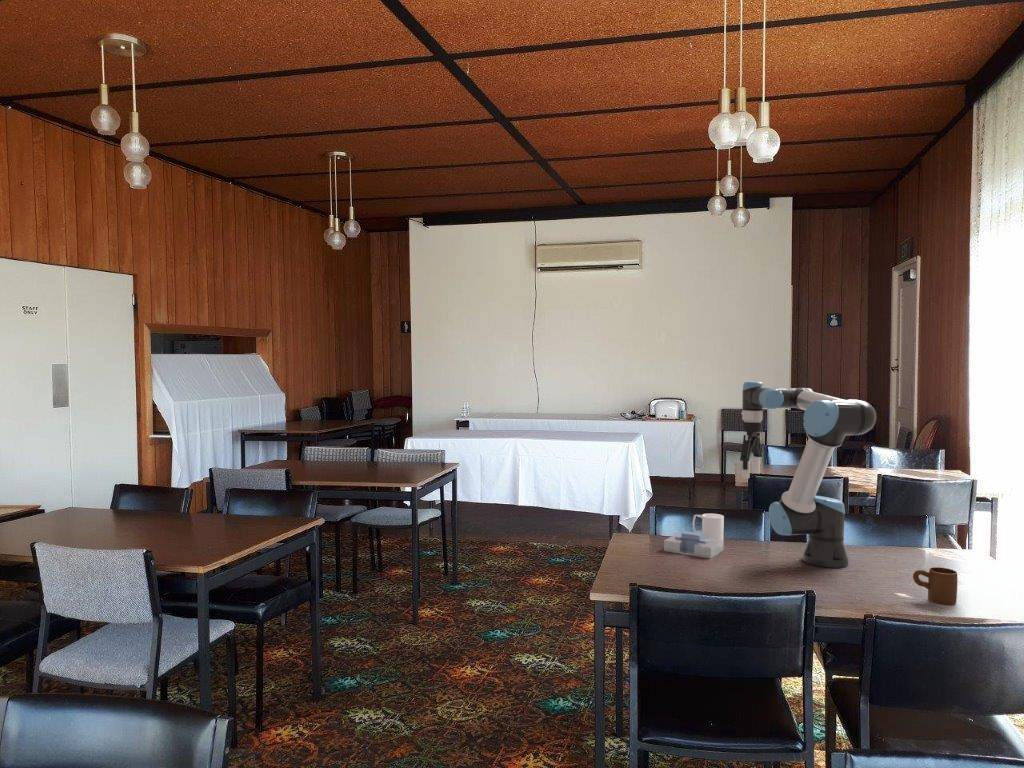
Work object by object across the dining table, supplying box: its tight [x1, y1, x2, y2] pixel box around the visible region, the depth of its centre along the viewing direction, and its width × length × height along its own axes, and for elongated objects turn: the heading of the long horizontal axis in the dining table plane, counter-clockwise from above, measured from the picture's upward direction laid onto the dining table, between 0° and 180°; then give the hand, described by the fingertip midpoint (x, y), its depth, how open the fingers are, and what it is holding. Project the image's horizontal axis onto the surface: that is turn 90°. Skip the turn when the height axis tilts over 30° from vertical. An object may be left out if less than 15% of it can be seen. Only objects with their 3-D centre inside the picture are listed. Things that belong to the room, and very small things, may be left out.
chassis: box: [663, 532, 725, 560], centre depth 282 cm, size 18×14×4 cm
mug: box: [912, 566, 959, 606], centre depth 227 cm, size 12×8×9 cm, turn 76°
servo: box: [675, 530, 709, 551], centre depth 282 cm, size 12×4×6 cm, turn 56°
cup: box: [692, 513, 725, 540], centre depth 297 cm, size 8×12×10 cm
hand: (750, 475), depth 292 cm, fingers open, 13 cm apart
